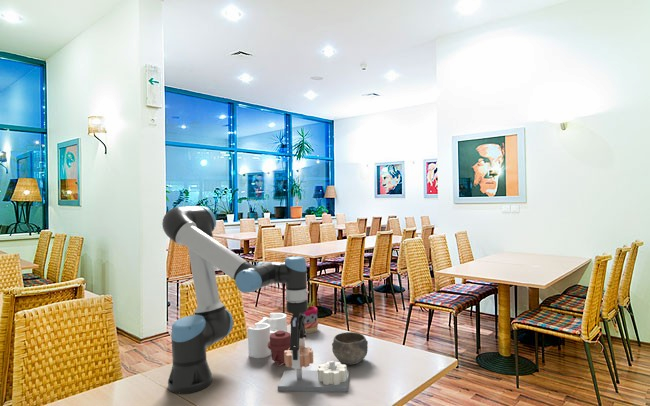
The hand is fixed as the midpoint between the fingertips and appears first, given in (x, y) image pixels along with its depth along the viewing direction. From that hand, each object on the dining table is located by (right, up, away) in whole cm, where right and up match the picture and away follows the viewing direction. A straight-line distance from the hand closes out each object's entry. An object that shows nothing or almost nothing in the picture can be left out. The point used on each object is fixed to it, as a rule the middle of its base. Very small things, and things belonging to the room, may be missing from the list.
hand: (298, 361), depth 145 cm
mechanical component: (-8, -8, +18) cm, 21 cm away
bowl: (+20, -7, +17) cm, 27 cm away
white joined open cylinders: (-15, -8, +35) cm, 39 cm away
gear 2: (+12, -5, -1) cm, 13 cm away
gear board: (+6, -7, 0) cm, 9 cm away
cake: (+1, -7, +57) cm, 58 cm away
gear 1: (0, 0, 0) cm, 0 cm away
